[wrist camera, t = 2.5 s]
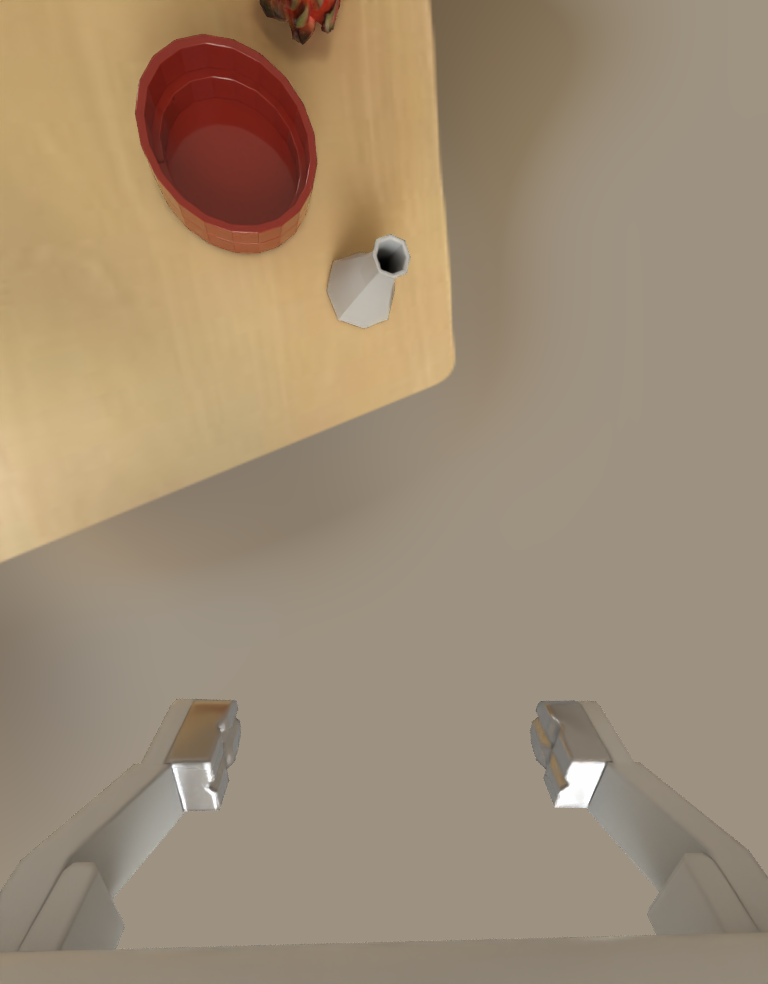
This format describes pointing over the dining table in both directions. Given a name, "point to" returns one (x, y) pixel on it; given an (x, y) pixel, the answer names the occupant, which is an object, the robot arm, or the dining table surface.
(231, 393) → the dining table surface
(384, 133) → the dining table surface
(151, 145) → the bowl
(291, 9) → the dragon fruit
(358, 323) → the flask
